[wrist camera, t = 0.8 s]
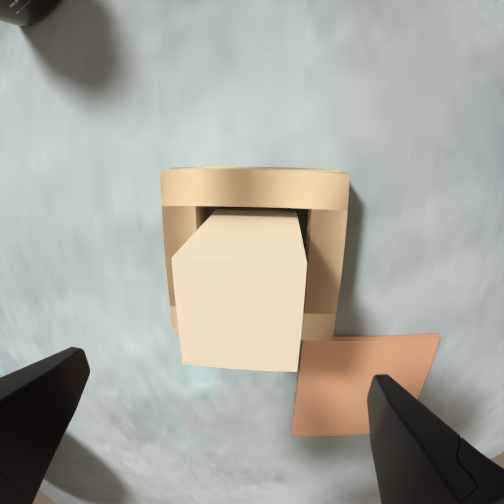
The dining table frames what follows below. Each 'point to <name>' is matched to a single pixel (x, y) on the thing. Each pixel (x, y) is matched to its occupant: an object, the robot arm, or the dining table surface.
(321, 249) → the birch pocket holder
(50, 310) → the dining table surface
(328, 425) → the terracotta coaster
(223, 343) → the cream block
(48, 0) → the supplement bottle
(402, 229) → the dining table surface
